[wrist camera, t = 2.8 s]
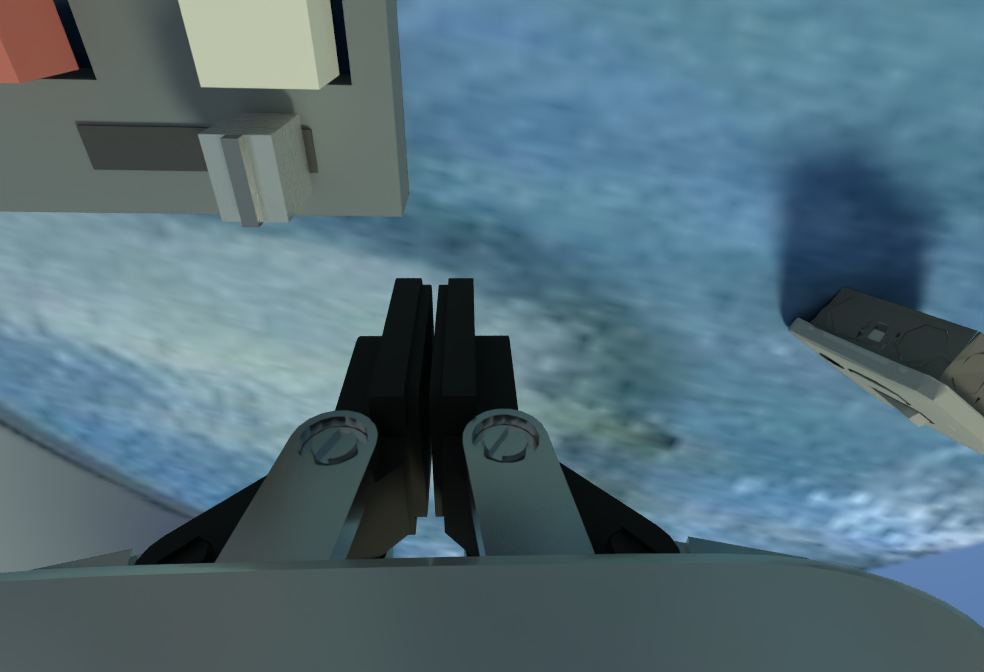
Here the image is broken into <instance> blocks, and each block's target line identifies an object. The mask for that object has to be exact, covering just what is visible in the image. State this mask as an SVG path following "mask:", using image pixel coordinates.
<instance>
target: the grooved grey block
mask: <svg viewBox="0 0 984 672" xmlns="http://www.w3.org/2000/svg"><path fill="white" fill-rule="evenodd" d="M198 137H199V140H200V144H201V147H202V151H203V155H204V158H205V162H206V165H207V169H208V172H209V176H210V179H211V183H212V187H213V190H214V194H215V197H216V201H217V204H218V208H219V212H220V215H221V219H222V222H242V226H243V227H260V226H261V225H262V223H263V222H290V220H291V219H292V218H293V216H294V215H295V214H296V212H297V211H298V210H299V208H300V207H301V206H302V204H303V203H304V202H305V200H306V199H307V198H308V197H309V195H310V194H311V193H312V186H311V181H310V175H309V169H308V163H307V157H306V152H305V146H304V140H303V134H302V129H301V123H300V117H299V114H294V113H242V112H236V113H234V114H232V115H230V116H229V117H227V118H225V119H223V120H222V121H220V122H218V123H216V124H215V125H213V126H211V127H209V128H208V129H206V130H204V131H202V132H201V133H199V134H198Z"/></svg>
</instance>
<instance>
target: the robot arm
mask: <svg viewBox="0 0 984 672" xmlns="http://www.w3.org/2000/svg"><path fill="white" fill-rule="evenodd" d="M431 460H432V463H433V480H434V498H435V514H436V517H443V516H444V523H445V533H446V534H447V535H448V536H450V537H451V538H452V539H453V540H454V541H455V542H457V543H458V544H459V545H460V546H461V547H462V548H463V549H464V557H429V558H393V553H394V551H393V546H395V545H396V544H397V543H398V542H399V541H401V540H402V539H403V538H404V537H406V536H407V535H415V534H416V523H417V517H427V513H428V501H429V487H430V473H431ZM0 672H984V628H983V627H982V626H981V625H979V624H978V623H977V622H975V621H974V620H973V619H972V618H970V617H969V616H968V615H966V614H965V613H963V612H961V611H960V610H958V609H956V608H955V607H953V606H952V605H950V604H948V603H947V602H945V601H943V600H941V599H938V598H936V597H934V596H932V595H930V594H928V593H926V592H923V591H921V590H919V589H916V588H914V587H911V586H909V585H906V584H904V583H901V582H898V581H895V580H892V579H888V578H885V577H881V576H878V575H875V574H872V573H869V572H866V571H862V570H859V569H856V568H852V567H847V566H842V565H837V564H832V563H827V562H822V561H817V560H811V559H808V558H804V557H798V556H793V555H787V554H782V553H776V552H771V551H765V550H760V549H754V548H749V547H743V546H738V545H732V544H727V543H721V542H716V541H710V540H705V539H699V538H694V537H688V539H687V541H686V543H683V542H678V541H673V540H672V538H671V537H670V536H669V535H668V534H667V533H666V532H665V531H663V530H662V529H661V528H660V527H658V526H657V525H656V524H654V523H653V522H651V521H650V520H648V519H646V518H645V517H643V516H642V515H640V514H639V513H637V512H636V511H634V510H633V509H631V508H629V507H628V506H626V505H625V504H623V503H622V502H620V501H619V500H617V499H616V498H614V497H612V496H611V495H609V494H608V493H606V492H605V491H603V490H602V489H600V488H599V487H597V486H595V485H594V484H592V483H591V482H589V481H588V480H586V479H585V478H583V477H582V476H580V475H578V474H577V473H575V472H574V471H572V470H571V469H569V468H568V467H566V466H565V465H563V464H561V463H560V462H559V461H558V459H557V456H556V453H555V451H554V448H553V446H552V443H551V441H550V438H549V436H548V433H547V431H546V430H545V428H544V426H543V425H542V423H540V422H539V421H538V420H537V419H535V418H534V417H533V416H531V415H529V414H527V413H524V412H522V411H518V405H517V397H516V389H515V380H514V372H513V364H512V356H511V348H510V340H509V336H475V327H474V285H473V278H449V282H448V285H439V290H438V301H437V312H436V323H435V334H434V323H433V302H432V286H431V285H423V284H422V278H396V280H395V284H394V289H393V293H392V297H391V301H390V305H389V310H388V314H387V318H386V322H385V326H384V330H383V335H382V336H360V337H358V339H357V341H356V344H355V348H354V351H353V354H352V357H351V361H350V364H349V367H348V370H347V374H346V377H345V380H344V383H343V387H342V390H341V393H340V396H339V400H338V403H337V406H336V409H335V411H331V412H326V413H322V414H319V415H317V416H315V417H312V418H310V419H308V420H307V421H306V422H304V423H303V424H301V425H300V426H299V427H298V428H297V429H296V430H295V431H294V433H293V434H292V435H291V436H290V438H289V440H288V441H287V443H286V445H285V446H284V448H283V450H282V451H281V453H280V455H279V456H278V458H277V460H276V461H275V463H274V465H273V466H272V468H271V470H270V471H269V473H268V475H266V476H265V477H263V478H261V479H260V480H258V481H256V482H255V483H253V484H251V485H250V486H248V487H246V488H244V489H243V490H241V491H239V492H238V493H236V494H234V495H233V496H231V497H229V498H228V499H226V500H224V501H223V502H221V503H219V504H217V505H216V506H214V507H212V508H211V509H209V510H207V511H206V512H204V513H202V514H201V515H199V516H197V517H196V518H194V519H192V520H190V521H189V522H187V523H185V524H184V525H182V526H180V527H179V528H177V529H176V530H174V531H172V532H171V533H169V534H167V535H165V536H164V537H162V538H161V539H159V540H158V541H157V542H155V543H154V544H153V545H151V546H150V547H149V548H148V549H147V550H146V551H145V552H144V553H143V554H141V555H136V554H135V552H134V551H133V549H128V550H123V551H119V552H114V553H110V554H104V555H100V556H95V557H90V558H86V559H81V560H76V561H71V562H66V563H62V564H57V565H52V566H48V567H42V568H38V569H33V570H28V571H16V572H5V573H0Z"/></svg>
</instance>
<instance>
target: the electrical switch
mask: <svg viewBox="0 0 984 672" xmlns="http://www.w3.org/2000/svg"><path fill="white" fill-rule="evenodd" d="M788 329H789V332H790V333H792V334H793V335H794V336H795V337H797V338H798V339H799V340H800V341H802V342H803V343H804V344H806V345H807V346H808V347H809V348H811V349H812V350H813V351H815V352H816V353H817V354H819V355H820V356H821V357H823V358H824V359H825V360H826V361H828V362H829V363H830V364H832V365H833V366H834V367H836V368H837V369H838V370H839V371H841V372H842V373H843V374H845V375H846V376H847V377H849V378H850V379H851V380H853V381H854V382H855V383H856V384H858V385H859V386H860V387H862V388H863V389H864V390H866V391H867V392H868V393H869V394H871V395H873V396H874V397H876V398H878V399H879V400H881V401H883V402H884V403H886V404H888V405H890V406H891V407H893V408H895V409H897V410H899V411H900V412H901V413H902V414H903V415H904V416H906V417H907V418H908V419H909V420H911V421H912V422H913V423H914V424H916V425H917V426H918V427H920V426H922V425H924V424H925V425H927V426H929V427H930V428H932V429H934V430H936V431H938V432H940V433H942V434H943V435H945V436H947V437H949V438H951V439H953V440H954V441H956V442H958V443H960V444H962V445H964V446H966V447H968V448H970V449H972V450H974V451H976V452H978V453H980V454H982V455H984V335H983V334H982V333H981V332H978V333H977V334H976V332H977V331H976V330H973V329H970V328H967V327H964V326H961V325H958V324H955V323H952V322H949V321H946V320H943V319H940V318H937V317H934V316H931V315H928V314H925V313H922V312H919V311H916V310H913V309H910V308H907V307H904V306H901V305H898V304H895V303H892V302H888V301H885V300H882V299H879V298H876V297H873V296H870V295H867V294H864V293H861V292H858V291H855V290H852V289H849V288H846V287H843V288H842V289H841V290H840V291H839V293H838V294H837V295H836V296H835V297H834V299H833V300H832V301H831V302H830V303H829V304H828V305H827V306H826V307H824V308H823V309H822V310H821V311H820V312H819V314H818V315H817V316H816V318H814V319H813V320H812V321H811V322H809V323H808V322H806V321H804V320H802V319H800V318H796V319H795V320H794V322H793V323H792V324H791V326H790V327H789V328H788ZM947 331H948V333H947ZM975 334H976V335H975ZM948 335H949V336H948ZM974 335H975V336H974ZM973 336H974V338H973ZM972 338H973V339H972ZM971 339H972V340H971ZM970 340H971V341H970ZM969 341H970V342H969ZM967 344H968V345H967ZM966 345H967V346H966ZM965 346H966V347H965ZM961 351H962V352H961Z"/></svg>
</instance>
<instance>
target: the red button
mask: <svg viewBox="0 0 984 672" xmlns="http://www.w3.org/2000/svg"><path fill="white" fill-rule="evenodd" d="M74 70H79V68H78V65H77V63H76V60H75V57H74V55H73V52H72V49H71V47H70V44H69V41H68V39H67V36H66V33H65V31H64V28H63V25H62V23H61V20H60V17H59V15H58V12H57V10H56V7H55V4H54V2H53V0H0V83H24V82H28V81H32V80H37V79H41V78H45V77H49V76H53V75H58V74H62V73H66V72H70V71H74Z"/></svg>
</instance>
